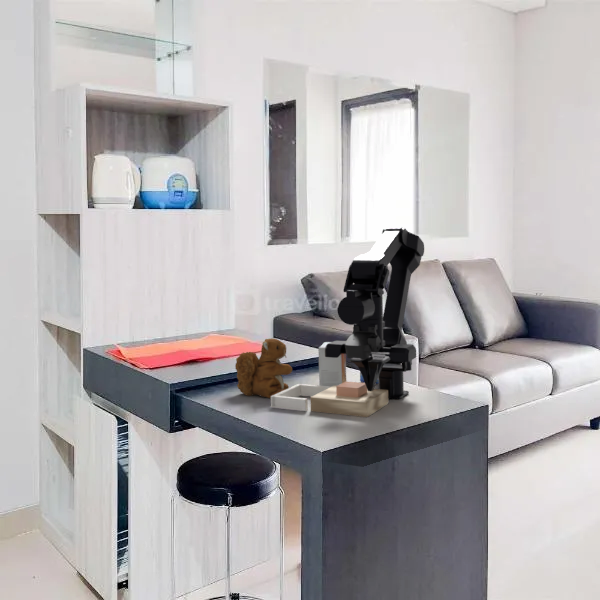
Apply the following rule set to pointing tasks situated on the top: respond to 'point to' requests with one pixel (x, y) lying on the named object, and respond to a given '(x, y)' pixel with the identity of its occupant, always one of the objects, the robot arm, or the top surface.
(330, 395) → the plate
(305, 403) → the box
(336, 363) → the small box
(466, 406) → the top surface
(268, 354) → the stuffed squirrel
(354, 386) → the tile
